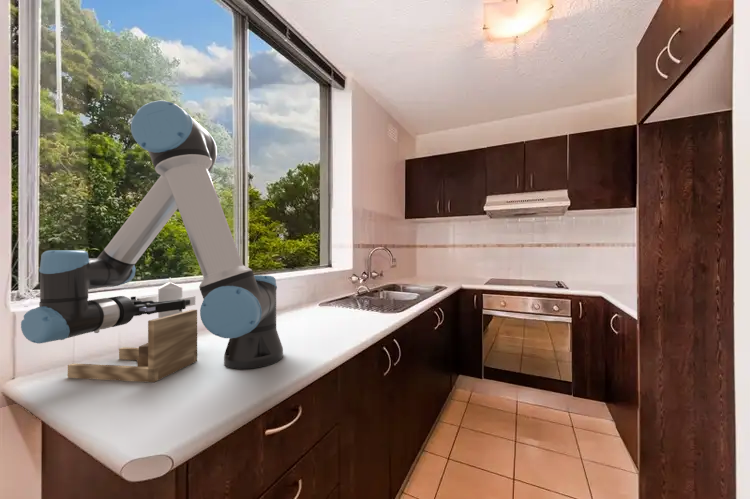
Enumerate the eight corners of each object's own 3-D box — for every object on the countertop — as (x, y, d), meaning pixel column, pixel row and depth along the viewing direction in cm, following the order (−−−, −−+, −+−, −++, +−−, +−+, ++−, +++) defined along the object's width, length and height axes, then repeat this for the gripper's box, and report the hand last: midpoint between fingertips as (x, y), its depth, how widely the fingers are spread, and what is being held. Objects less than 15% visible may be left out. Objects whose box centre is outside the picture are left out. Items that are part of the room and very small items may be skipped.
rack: (197, 361, 84) (197, 309, 84) (153, 382, 70) (153, 320, 70) (123, 357, 87) (123, 308, 87) (67, 377, 73) (67, 318, 73)
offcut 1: (173, 348, 81) (173, 339, 81) (158, 356, 75) (158, 346, 75) (155, 349, 80) (155, 339, 80) (138, 357, 74) (138, 346, 74)
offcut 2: (175, 357, 81) (175, 347, 81) (159, 367, 74) (159, 356, 74) (155, 358, 81) (155, 348, 81) (137, 368, 74) (137, 357, 74)
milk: (159, 352, 92) (158, 278, 92) (158, 347, 97) (157, 277, 97) (182, 348, 96) (182, 277, 96) (181, 343, 101) (180, 276, 101)
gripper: (66, 326, 79) (140, 311, 100) (152, 329, 76) (210, 312, 97) (66, 297, 79) (140, 287, 100) (152, 298, 76) (210, 288, 97)
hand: (175, 300), depth 99 cm, fingers open, 13 cm apart
